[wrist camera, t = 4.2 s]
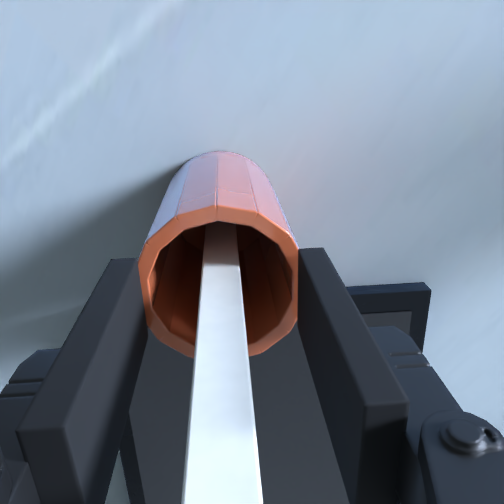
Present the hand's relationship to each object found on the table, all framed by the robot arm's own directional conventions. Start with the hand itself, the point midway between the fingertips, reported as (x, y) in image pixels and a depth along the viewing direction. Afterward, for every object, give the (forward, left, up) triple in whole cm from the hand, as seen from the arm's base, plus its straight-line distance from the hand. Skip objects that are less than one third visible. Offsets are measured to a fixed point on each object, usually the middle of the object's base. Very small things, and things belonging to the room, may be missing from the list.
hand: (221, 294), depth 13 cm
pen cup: (0, 0, -9) cm, 9 cm away
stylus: (0, 0, -8) cm, 8 cm away
